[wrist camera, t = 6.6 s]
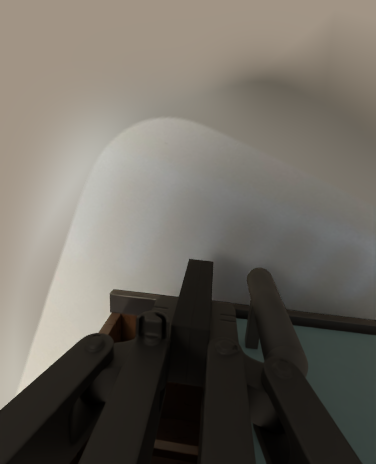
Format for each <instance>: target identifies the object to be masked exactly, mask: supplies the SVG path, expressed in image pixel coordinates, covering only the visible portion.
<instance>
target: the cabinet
mask: <svg viewBox="0 0 376 464" xmlns="http://www.w3.org/2000/svg"><path fill="white" fill-rule="evenodd" d="M160 296H162V295H156V294H148V293H139V292H131V291H122V290H113V291H112V292H111V293H110V312H112V314H111V315H110V317H109V318H108V319H107V321H106V322H105V324H104V325H103V327H102V328H101V330H100V331H99V333H104V334H107V335H109V336H111V337H112V339H113V340H114V343H118V342H126V341H130V340H133V339H135V336H136V318H137V316H138V315H139V314H141V313H143V312H146V311H152V308H153V306H154V304H155V301H156V300H157V299H158V298H159V297H160ZM231 304H232V303H231ZM232 306H233V307H234V308H235V312H236V318H238V319H247V320H248V314H249V307H250V306H249V305H241V304H232ZM286 311H287V313H288V315H289V318H290V320H291V322H292V325H295V326H303V327H312V328H320V329H328V330H336V331H344V332H352V333H360V334H368V335H376V320H367V319H359V318H350V317H342V316H333V315H325V314H317V313H308V312H300V311H291V310H286ZM202 394H203V387H199V386H192V385H186V384H179V383H173V382H168V378H167V382H166V394H165V398H164V403H163V407H162V412H161V417H160V421H159V426H158V430H157V435H156V439H155V444H154V449H153V453H152V458H151V462H150V464H197V461H198V447H199V433H200V419H201V414H200V412H201V403H202ZM91 434H92V433H91ZM90 436H91V435H90ZM90 436H89V438H90ZM89 438H88V439H87V440H86V442H85V443H84V445H83V446H82V447H81V449H80V450H79V452H78V453H77V454H76V456H75V457H74V459H73V460H72V461H71V463H70V464H78V463H79V461H80V458H81V456H82V454H83V452H84V450H85V447H86V445H87V443H88V441H89Z"/></svg>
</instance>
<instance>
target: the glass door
mask: <svg viewBox="0 0 376 464" xmlns="http://www.w3.org/2000/svg"><path fill="white" fill-rule="evenodd" d="M247 284H248V289H249V293H250V298H251V301H250V307H249V314H248V320H247V319H238V318H236V323H237V331H238V340H239V345H240V346H241V348H242V350H243V352H244V353H245V354H246V355H248V356H249V357H251V358H253V359H255V360H258V361H260V362H263V363H264V361H265V360H266V359H267V358H269V357H273V356H276V357H282V358H285V359H288V360H290V361H291V362H293V363H294V364H295V365H296V366H297V367H298V368H299V369H300V370H301V372H302V373H303V375H304V376H305V378H306V379H307V381H308V382H309V384H310V385H311V387H312V388H313V390H314V391H315V393H316V394H317V396H318V397H319V399H320V400H321V402H322V403H323V405H324V406H325V408H326V409H327V411H328V412H329V414H330V415H331V417H332V418H333V420H334V421H335V423H336V424H337V426H338V427H339V429H340V430H341V432H342V433H343V435H344V436H345V438H346V440H347V441H348V443H349V444H350V446H351V447H352V449H353V450H354V452H355V453H356V455H357V456H358V458H359V459H360V461H361V462H362V464H376V335H368V334H360V333H352V332H344V331H336V330H328V329H320V328H312V327H303V326H295V325H292V322H291V320H290V318H289V315H288V313H287V311H286V308H285V306H284V304H283V301H282V299H281V297H280V294H279V292H278V290H277V287H276V285H275V283H274V280H273V278H272V276H271V274H270V273H269V272H268V271H267V270H266V269H263V268H255V269H253V270H251V271H250V272H249V274H248V276H247ZM251 425H252V434H253V442H254V451H255V459H256V464H266V461H265V458H264V456H263V453H262V450H261V447H260V445H259V442H258V439H257V436H256V433H255V431H254V428H253V423H252V422H251Z"/></svg>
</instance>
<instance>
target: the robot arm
mask: <svg viewBox="0 0 376 464" xmlns="http://www.w3.org/2000/svg"><path fill="white" fill-rule="evenodd" d="M212 282H213V262H212V261H203V260H194V259H189V262H188V266H187V269H186V273H185V277H184V280H183V284H182V287H181V291H180V295H179V297H173V296H165V295H162V296H160V297H159V298H158V299H157V300H156V301H155V304H154V306H153V308H152V311H146V312H143V313H141V314H139V315H138V316H137V318H136V336H135V339H133V340H130V341H126V342H118V343H114V340H113V339H112V337H111V336H109V335H107V334H104V333H94V334H91V335H88V336H86V337H84V338H83V339H81V340H80V341H79V342H78V343H76V344H75V345H74V346H73V347H72V348H71V349H70V350H68V351H67V352H66V353H65V354H64V355H63V356H62V357H60V358H59V359H58V360H57V361H56V362H55V363H54V364H52V365H51V366H50V367H49V368H48V369H47V370H46V371H44V372H43V373H42V374H41V375H40V376H39V377H38V378H36V379H35V380H34V381H33V382H32V383H31V384H30V385H29V386H27V387H26V388H25V389H24V390H23V391H22V392H21V393H19V394H18V395H17V396H16V397H15V398H14V399H13V400H11V401H10V402H9V403H8V404H7V405H6V406H5V407H3V408H2V409H1V410H0V464H70V463H71V461H72V460H73V459H74V457H75V456H76V454H77V453H78V452H79V450H80V449H81V447H82V446H83V445H84V443H85V442H86V440H87V439H88V438H89V436H90V435H91V436H90V438H89V441H88V443H87V445H86V447H85V450H84V452H83V454H82V456H81V458H80V461H79V463H78V464H150V462H151V458H152V453H153V449H154V444H155V439H156V435H157V430H158V426H159V421H160V417H161V412H162V407H163V403H164V398H165V394H166V382H167V378H168V382H173V383H179V384H186V385H192V386H199V387H203V394H202V403H201V412H200V414H201V419H200V433H199V447H198V461H197V464H256V459H255V451H254V442H253V434H252V425H251V422H252V423H253V428H254V431H255V433H256V436H257V439H258V442H259V445H260V447H261V450H262V453H263V456H264V458H265V461H266V464H362V462H361V461H360V459H359V458H358V456H357V455H356V453H355V452H354V450H353V449H352V447H351V446H350V444H349V443H348V441H347V440H346V438H345V436H344V435H343V433H342V432H341V430H340V429H339V427H338V426H337V424H336V423H335V421H334V420H333V418H332V417H331V415H330V414H329V412H328V411H327V409H326V408H325V406H324V405H323V403H322V402H321V400H320V399H319V397H318V396H317V394H316V393H315V391H314V390H313V388H312V387H311V385H310V384H309V382H308V381H307V379H306V378H305V376H304V375H303V373H302V372H301V370H300V369H299V368H298V367H297V366H296V365H295V364H294V363H293V362H291V361H290V360H288V359H285V358H282V357H276V356H273V357H269V358H267V359H266V360H265V361H264V363H263V362H260V361H258V360H255V359H253V358H251V357H249V356H248V355H246V354H245V353H244V352H243V350H242V348H241V346H240V345H239V340H238V331H237V323H236V312H235V308H234V307H233V306H232V304H231V303H228V302H220V301H212ZM91 433H92V434H91Z"/></svg>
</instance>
